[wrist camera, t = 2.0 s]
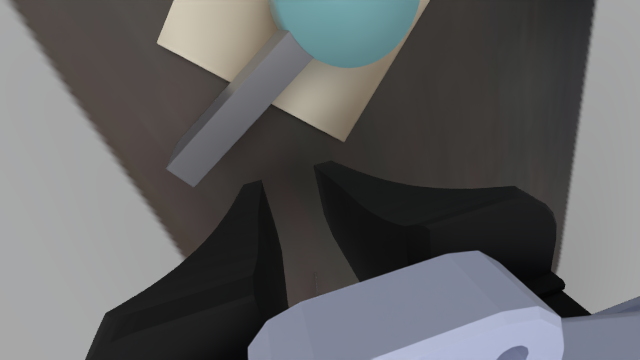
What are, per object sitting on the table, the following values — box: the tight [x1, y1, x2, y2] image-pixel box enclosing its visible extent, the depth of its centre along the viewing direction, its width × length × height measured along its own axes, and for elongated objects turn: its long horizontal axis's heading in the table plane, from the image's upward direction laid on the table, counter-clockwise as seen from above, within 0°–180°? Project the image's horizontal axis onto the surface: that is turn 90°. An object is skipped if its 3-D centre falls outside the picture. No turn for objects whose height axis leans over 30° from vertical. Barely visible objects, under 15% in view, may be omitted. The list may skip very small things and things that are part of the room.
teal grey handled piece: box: [166, 0, 420, 187], centre depth 13 cm, size 12×5×3 cm, turn 134°
